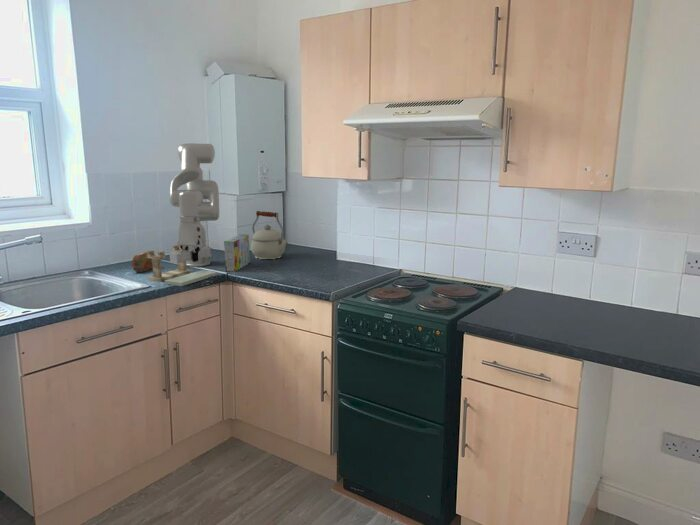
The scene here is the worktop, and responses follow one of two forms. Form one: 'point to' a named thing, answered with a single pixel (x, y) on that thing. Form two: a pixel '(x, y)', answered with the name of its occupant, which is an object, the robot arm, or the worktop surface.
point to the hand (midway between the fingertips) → (191, 260)
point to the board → (190, 278)
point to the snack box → (237, 252)
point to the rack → (156, 263)
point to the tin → (142, 262)
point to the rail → (188, 255)
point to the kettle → (267, 240)
